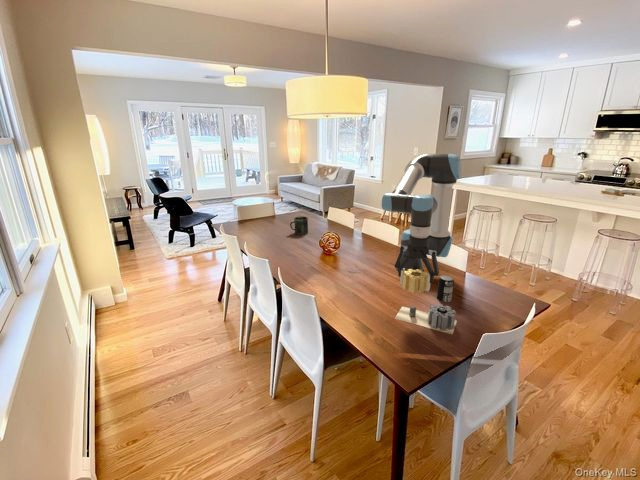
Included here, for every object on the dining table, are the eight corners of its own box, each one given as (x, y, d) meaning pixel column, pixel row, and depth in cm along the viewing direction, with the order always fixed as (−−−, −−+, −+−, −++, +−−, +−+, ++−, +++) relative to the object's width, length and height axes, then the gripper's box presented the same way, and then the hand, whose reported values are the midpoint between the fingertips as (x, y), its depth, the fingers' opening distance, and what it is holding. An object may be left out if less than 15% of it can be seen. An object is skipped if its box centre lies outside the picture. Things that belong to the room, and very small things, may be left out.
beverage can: (439, 295, 154) (442, 273, 150) (453, 299, 150) (456, 276, 146) (434, 301, 149) (437, 277, 145) (448, 305, 145) (451, 281, 141)
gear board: (402, 308, 143) (402, 298, 141) (456, 322, 132) (458, 311, 130) (394, 320, 134) (395, 310, 132) (452, 337, 123) (453, 325, 121)
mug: (310, 233, 248) (310, 218, 244) (292, 236, 243) (292, 221, 239) (305, 230, 257) (305, 215, 253) (288, 232, 252) (287, 217, 248)
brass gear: (406, 279, 137) (407, 267, 135) (429, 284, 132) (431, 271, 130) (399, 289, 129) (400, 276, 127) (424, 295, 124) (425, 281, 122)
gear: (425, 315, 135) (427, 301, 133) (450, 317, 134) (452, 302, 131) (430, 329, 126) (431, 314, 123) (456, 331, 124) (458, 316, 122)
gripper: (388, 233, 126) (385, 284, 133) (448, 242, 115) (441, 297, 122) (394, 228, 132) (391, 277, 139) (452, 237, 121) (445, 289, 128)
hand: (414, 286), depth 131 cm, fingers closed on brass gear, 10 cm apart
